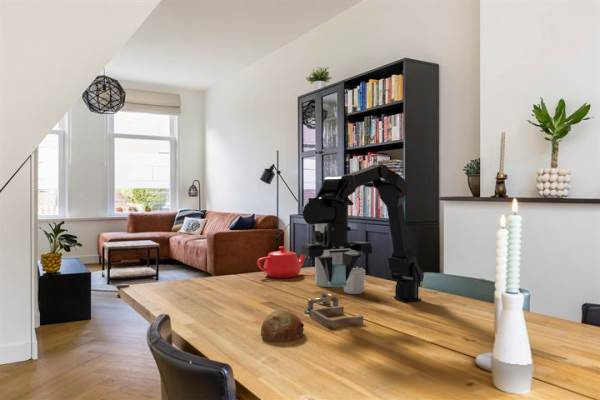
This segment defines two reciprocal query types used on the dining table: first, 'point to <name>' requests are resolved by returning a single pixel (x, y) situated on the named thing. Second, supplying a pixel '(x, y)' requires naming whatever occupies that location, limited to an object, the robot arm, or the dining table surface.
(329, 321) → the dock
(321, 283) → the vase
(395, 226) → the robot arm
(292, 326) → the bread roll
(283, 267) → the teapot
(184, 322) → the dining table surface
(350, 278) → the cup
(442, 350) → the dining table surface
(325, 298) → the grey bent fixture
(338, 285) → the spool
